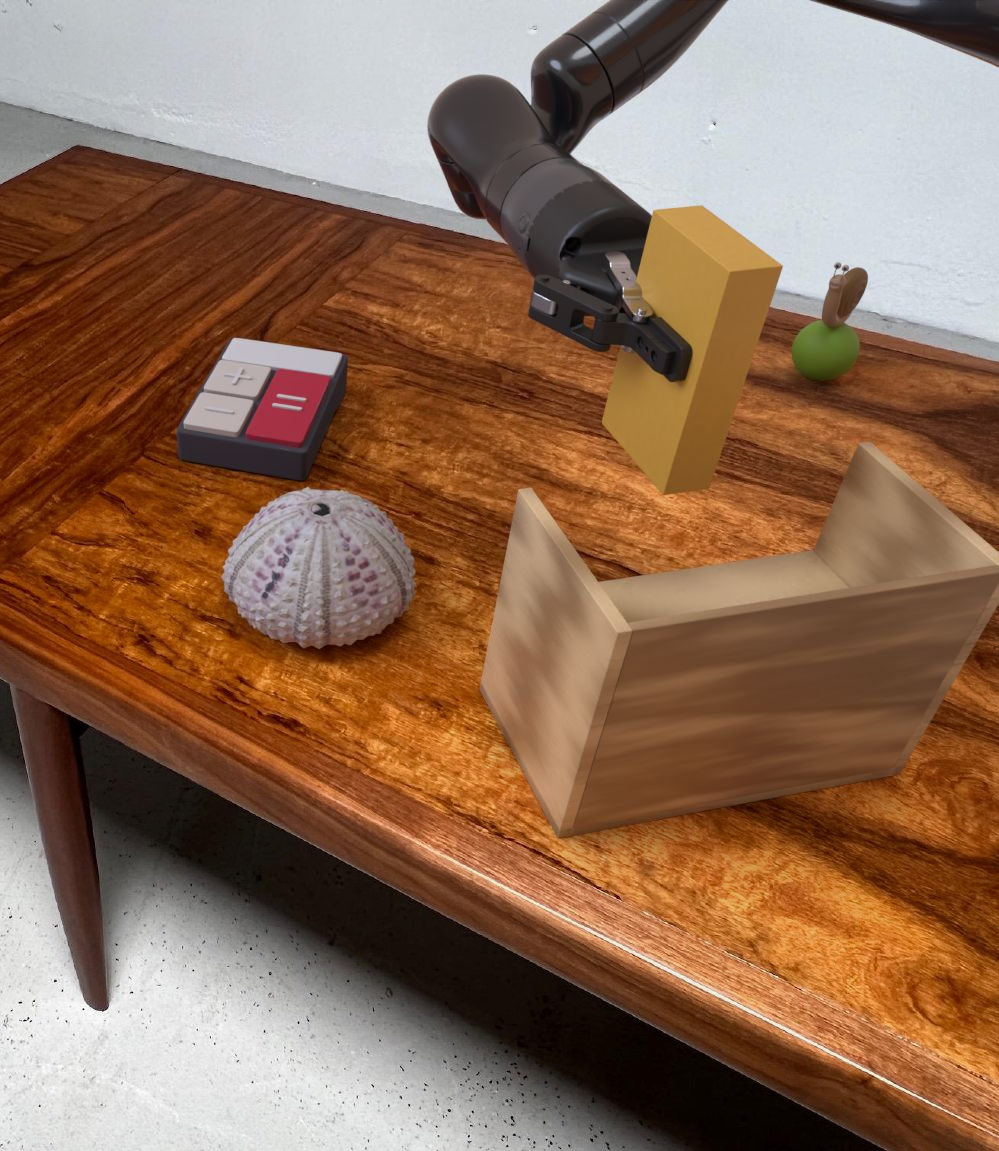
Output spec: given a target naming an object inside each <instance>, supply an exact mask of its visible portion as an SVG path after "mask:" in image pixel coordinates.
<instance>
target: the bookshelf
mask: <svg viewBox="0 0 999 1151" xmlns="http://www.w3.org/2000/svg"><path fill="white" fill-rule="evenodd" d="M508 535H509V536H508V540H507V546H506V550H505V556H504V561H503V566H502V570H501V571H502V572H501V576H500V580H499V587H498V593H497V597H496V603H495V606H494V612H493V618H492V622H491V628H490V632H489V638H488V643H487V649H486V654H485V659H484V664H483V669H482V673H481V674H482V675H481V679H480V683H479V692H480V694H481V695H482V697H483V699H484V701H485V703H486V705H487V707H488V709H489V710H490V712H491V714H492V716H493V718H494V720H495V723H496V724H497V726H498V728H499V729H500V731H501V734H502V735H503V737H504V739H505V741H506V743H507V744H508V746H509V749H510V751H511V753H512V754H513V757H514V758H515V760H516V762H517V764H518V765H519V768H520V769H521V772H522V774H523V776H524V777H525V779H526V781H527V782H528V785H529V786H530V789H531V790H532V792H533V794H534V796H535V798H536V800H537V803H538V804H539V805H540V808H541V810H542V812H543V813H544V816H545V817H546V819H547V821H548V823H549V825H550V827H551V828H552V831H553V833H554V835H555V836H556V838H557V839H560V838H565V837H570V836H577V835H582V834H587V833H592V832H599V831H604V830H609V829H613V828H614V829H615V828H618V827H625V826H630V825H636V824H640V823H647V822H652V821H657V820H663V819H668V818H673V817H678V816H683V815H690V814H695V813H699V812H704V811H710V810H714V809H715V810H716V809H721V808H727V807H732V806H737V805H743V804H747V803H752V802H759V801H764V800H769V799H775V798H779V797H786V796H790V795H796V794H802V793H806V792H807V793H808V792H813V791H818V790H822V789H823V790H824V789H827V788H833V787H838V786H839V787H840V786H843V785H844V786H845V785H850V784H854V783H860V782H865V781H871V780H876V779H881V778H886V777H892V776H898V775H900V774H901V773H902V772H903V771H904V769H905V767H906V764H908V761H909V760H910V757H911V756H912V754H913V752H914V751H915V749H916V747H917V746H918V743H919V742H920V741H921V739H922V738H923V735H924V734H925V732H926V730H927V729H928V727H929V726H930V724H931V722H932V720H933V718H934V716H935V715H936V713H937V711H938V710H939V707H940V706H941V704H942V703H943V701H944V699H945V698H946V696H947V695H948V692H949V691H950V689H951V687H952V685H953V684H954V682H955V680H956V678H957V677H958V675H959V673H960V671H961V670H962V668H963V666H964V664H965V663H966V662H967V659H968V658H969V656H970V654H971V652H973V649H974V647H975V646H976V644H977V642H978V640H979V639H980V637H981V635H983V634H982V633H983V632H984V630H985V628H986V627H987V625H988V623H989V622H990V620H991V618H992V617H993V615H994V613H995V612H996V610H997V608H998V606H999V551H998V550H997V549H996V548H994V547H993V546H992V545H991V544H990V543H988V542H987V541H986V540H985V539H984V538H983V537H981V535H979V534H978V533H977V532H976V531H974V529H972V528H971V527H970V526H969V525H967V523H965V522H964V521H963V520H962V519H960V518H959V516H957V515H956V514H955V513H954V512H953V511H951V510H950V509H949V508H948V507H947V506H946V505H945V504H943V503H942V502H941V501H940V500H939V499H938V498H936V497H935V496H934V495H933V494H931V493H930V492H929V491H928V490H927V489H926V488H924V487H923V486H922V485H921V484H920V483H919V482H917V481H916V480H915V479H914V478H913V477H912V476H911V475H910V474H908V473H907V472H905V470H903V468H901V467H900V466H899V465H897V463H895V462H894V461H893V460H892V459H891V458H889V457H888V456H887V455H886V454H885V453H884V452H882V451H881V449H879V448H878V447H876V446H875V445H874V444H873V443H872V442H871V441H866V442H865V441H864V442H858V444H857V446H856V448H855V451H854V453H853V455H852V457H851V461H850V463H849V464H848V467H847V469H846V472H845V473H844V476H843V479H842V482H841V484H840V486H839V489H838V491H837V493H836V496H835V499H834V500H833V503H832V505H831V508H830V510H829V512H828V514H827V517H826V520H825V522H824V524H823V527H822V528H821V531H820V534H819V536H818V538H817V541H816V543H815V545H814V548H813V549H810V550H809V549H808V550H803V551H795V552H789V553H783V554H775V555H770V556H762V557H756V558H748V559H743V560H736V561H729V562H723V563H716V564H710V565H703V566H696V567H689V568H682V569H676V570H669V571H663V572H656V573H650V574H642V575H636V576H635V575H634V576H630V577H623V578H615V579H609V580H603V581H602V580H601V581H598V579H597V578H596V576H595V575H594V573H593V572H592V571H591V569H590V568H589V566H588V565H587V563H586V562H585V561H584V559H583V558H582V557H581V556H580V554H579V553H578V551H577V549H576V548H575V547H574V545H573V544H572V543H571V541H570V539H569V538H568V537H567V535H566V534H565V532H564V531H563V530H562V529H561V527H560V525H559V524H558V523H557V522H556V520H555V519H554V517H553V516H552V514H551V513H550V512H549V510H548V509H547V508H546V506H545V505H544V503H543V502H542V501H541V499H540V497H539V496H538V495H537V493H536V492H535V491H534V489H533V488H532V487H524V488H518V489H517V494H516V499H515V504H514V509H513V514H512V520H511V524H510V531H509V534H508Z"/></svg>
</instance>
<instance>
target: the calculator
mask: <svg viewBox="0 0 999 1151" xmlns="http://www.w3.org/2000/svg"><path fill="white" fill-rule="evenodd" d="M224 346H225V347H224V348H223V349H222V351H221V354H219V356H218V358H217V360H216V361H215V363H214V365H213V366H212V368H211V370H210V372H209V374H208V375H207V377H206V379H205V381H204V382H203V384H202V385H201V387H200V389H199V391H198V392H197V394H196V396H195V398H194V399H193V401H192V402H191V404H190V406H189V407H188V409H187V411H186V412H185V414H184V416H183V418H182V420H181V421H180V423H179V425H178V426H177V428H176V441H177V442H176V443H177V444H176V445H177V455H178V459H179V460H181V461H184V462H191V463H197V464H200V465H201V464H202V465H207V466H213V467H217V468H219V467H220V468H225V469H231V470H236V471H242V472H249V473H254V474H259V475H265V476H271V477H275V478H281V479H288V480H293V481H301V482H303V481H306V479H307V478H308V476H309V474H310V471H311V469H312V466H313V464H314V462H315V459H316V457H317V455H318V453H319V450H320V448H321V445H322V443H323V442H324V441H323V440H324V438H325V436H326V434H327V431H328V429H329V426H330V424H331V422H332V420H333V417H334V415H335V412H337V411H338V410H339V408H340V406H341V404H342V401H343V399H344V396H345V393H346V391H347V384H348V383H347V381H348V364H349V357H348V355H347V354H344V353H341V352H337V351H330V350H323V349H317V348H310V347H303V346H295V345H290V344H281V343H275V342H270V341H269V342H268V341H262V340H255V339H247V338H241V337H233V338H230V339H228V341H227V343H226V345H224Z"/></svg>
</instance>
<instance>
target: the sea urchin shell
mask: <svg viewBox="0 0 999 1151" xmlns="http://www.w3.org/2000/svg"><path fill="white" fill-rule="evenodd" d="M404 536H405V533H403V532H400V531H399V530H398V527H397V526H396V525H394V522H393V519H392V518H389V517H388V516H387V512H386V511H381V510H380V509H379V506H378V505H375V504H374V503H373V501H370V500H368V499H366V498H363V497H361V496H360V495H357V494H353V493H351V492H349V491H347V490H345V491H344V489H341V490H334V489H333V490H329V489H313V488H310V487H309V486H307V487H305V488H302V489H301V490H293V491H290V492H287V493H285V494H283V495H280V496H279V497H276V498H275V499H274V500H271V501H268V503H267V505H266V506H261V507H260V510H259V512H257V513H255V514H254V516H253V517H252V518H251V519H250V520H249V522H248V523H247V524H245V525H244V526H243V527H242V530H241V531H240V532H239V534H238V535H237V536H236V538H234V539H233V540H232V546H231V547H229V548H228V550H227V552H228V556H227V558H226V560H225V561H224V563H225V564H224V565H222V568H223V570H224V572H223V573H222V575H221V576H220V578H221V579H222V581H223V582H224V583H223V587H224V590H223V592H224V593H226V594H227V595H228V600H229V601H231V602H232V603H234V605H236V607H237V613H238V614H239V615H241V618H243V619H245V620H247V622H248V624H249V626H252V627H253V629H254V630H255V629H256V630H258V631H259V632H260V633H261V634H263V635H264V636H269V638H270V639H271V640H275V641H276V640H279V641H280V642H281V643H282V644H287V643H296V644H298V645H299V646H300V647H301V648H302V649H306V648H308V647H311V646H312V647H314V648H316V649H318V650H320V649H322V648H324V647H326V646H327V645H335V646H337V647H342V646H344V645H348V646H352V645H353V644H354V643H355V642H356V641H357V640H358V641H359V640H363V641H364V640H365V639H366V638H367V637H369V636H371V637H373V636H375V635H376V634H378V635H381V634H382V631H383V630H385V628H386V627H387V626H388V625H391V624H393V623H394V620H395V618H401V617H403V614H404V612H406V611H409V610H410V604H412V600H413V598H414V597H415V596H417V592H416V591H415V587H416V585H417V583H416V582H415V580H414V577H415V574H416V572H417V571H416V569H415V567H414V564H415V557H414V556H413V555H412V552H411V551H412V550H411V548H409V547H408V545H407V542H406V540H405V539H404V538H405V537H404Z"/></svg>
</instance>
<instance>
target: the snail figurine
mask: <svg viewBox="0 0 999 1151" xmlns="http://www.w3.org/2000/svg"><path fill="white" fill-rule="evenodd" d="M833 267H834V273H833V276H832V277H830V278H829V281H828V289H827V292H826V294H825V297H824V300H823V304H822V310H821V319H819V320H816V321H813V322H811V323H810V324H807V325H806V326H805V327H803V328H802V329H801V330H800V331H799V332H798V334H797V335H796V336H795V337H794V339H793V343H792V346H791V351H790V352H791V359H792V363H793V365H794V368H796V370H797V371H798V373H800V374H801V375H803V377H806V378H807V379H810V380H813V381H817V382H818V381H820V382H825V381H826V382H827V381H832V380H836V379H838V378H841V377H842V376H844V375H845V374H846V373H848V372H849V371H850V370H851V369H853V367H854V366H855V364H856V363H857V361H858V358H859V356H860V351H861V348H860V347H861V344H860V343H861V342H860V339H859V336H858V334H857V333H856V331H855V330H854V329H853V328H852V327H851V326H850V325H849V324H848V323H846V321H847V320H849V318H850V317H851V315H852V313H853V311H854V310H855V309H856V307H857V306H859V303H860V301H862V298H863V296H864V294H865V292H866V289H867V286H868V281H869V275H868V272H867V270H866V269H865V268H863V267H857V266H856V267H853V268H850V266H849V265H848V264H844V265H842V263H841V262H840V261H839V262H838V261H837V262H834V265H833ZM839 269H841V271H842V274H841V273H838V274H836V273H837V270H839Z"/></svg>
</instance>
